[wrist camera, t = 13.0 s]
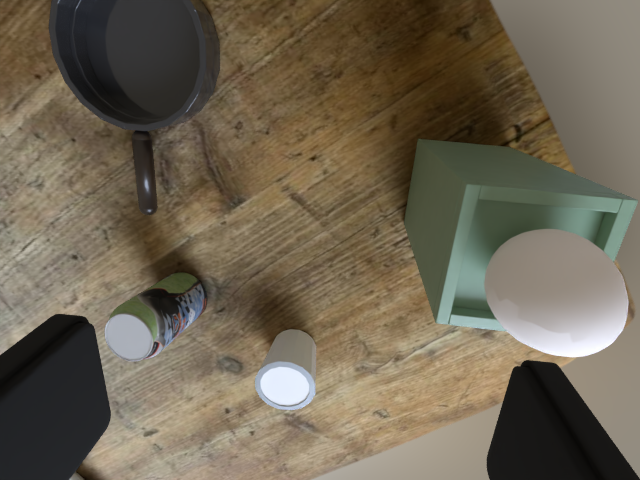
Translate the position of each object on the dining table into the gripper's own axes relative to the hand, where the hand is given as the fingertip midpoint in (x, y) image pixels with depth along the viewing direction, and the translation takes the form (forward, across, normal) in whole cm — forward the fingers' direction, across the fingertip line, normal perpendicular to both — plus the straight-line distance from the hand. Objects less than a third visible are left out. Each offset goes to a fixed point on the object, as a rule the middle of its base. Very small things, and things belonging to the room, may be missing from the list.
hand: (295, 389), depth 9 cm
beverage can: (+34, +18, +18) cm, 42 cm away
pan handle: (+32, +20, +3) cm, 37 cm away
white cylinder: (+34, +4, +25) cm, 42 cm away
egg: (+16, -12, +3) cm, 20 cm away
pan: (+34, +20, -8) cm, 40 cm away
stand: (+34, -12, +3) cm, 36 cm away
